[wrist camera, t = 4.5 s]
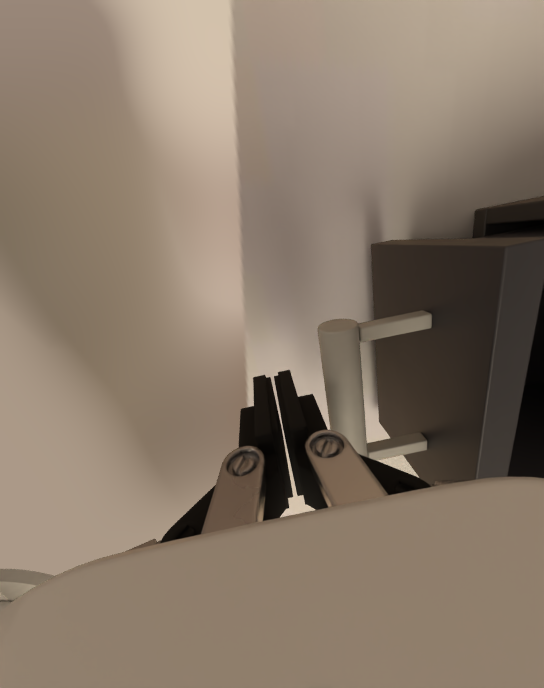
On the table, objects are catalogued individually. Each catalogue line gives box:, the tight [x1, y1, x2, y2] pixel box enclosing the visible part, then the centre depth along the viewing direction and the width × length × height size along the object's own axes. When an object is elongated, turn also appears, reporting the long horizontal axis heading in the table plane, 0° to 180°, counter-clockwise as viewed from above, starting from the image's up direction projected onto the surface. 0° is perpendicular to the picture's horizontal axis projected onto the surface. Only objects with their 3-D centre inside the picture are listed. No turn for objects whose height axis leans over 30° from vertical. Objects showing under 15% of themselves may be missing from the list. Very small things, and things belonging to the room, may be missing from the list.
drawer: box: [318, 224, 544, 484], centre depth 12 cm, size 18×11×8 cm, turn 101°
